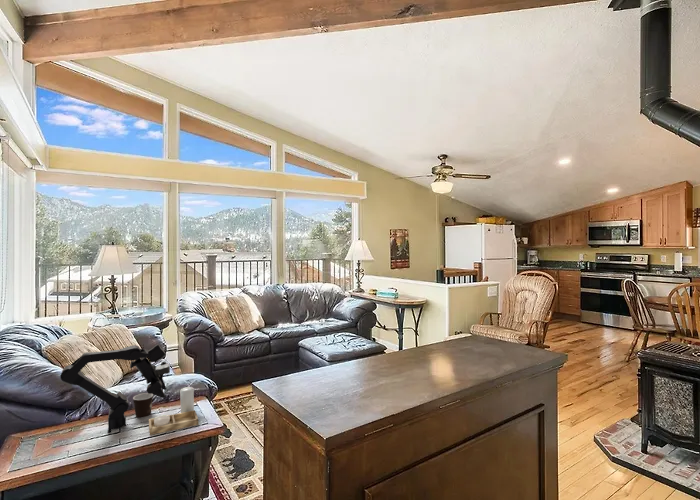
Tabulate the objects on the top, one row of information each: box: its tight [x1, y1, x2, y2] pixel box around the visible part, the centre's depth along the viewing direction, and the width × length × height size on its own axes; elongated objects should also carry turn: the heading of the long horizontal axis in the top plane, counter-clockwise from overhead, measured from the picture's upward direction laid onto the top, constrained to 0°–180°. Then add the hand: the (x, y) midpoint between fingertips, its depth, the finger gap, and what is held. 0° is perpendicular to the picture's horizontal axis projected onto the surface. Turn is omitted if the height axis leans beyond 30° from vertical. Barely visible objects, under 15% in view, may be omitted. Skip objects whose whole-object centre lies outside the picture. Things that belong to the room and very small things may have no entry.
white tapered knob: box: [179, 386, 195, 413], centre depth 191 cm, size 6×6×13 cm
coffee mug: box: [132, 392, 154, 419], centre depth 191 cm, size 12×9×10 cm
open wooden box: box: [148, 409, 199, 436], centre depth 179 cm, size 20×11×4 cm, turn 119°
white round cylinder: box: [154, 414, 170, 427], centre depth 177 cm, size 6×6×4 cm
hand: (165, 393), depth 188 cm, fingers open, 9 cm apart
